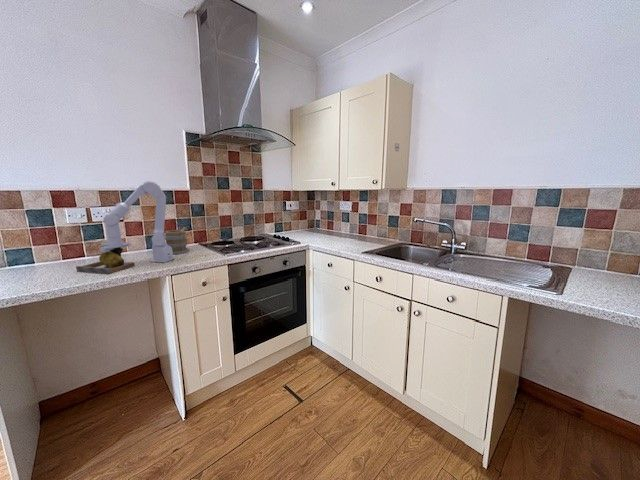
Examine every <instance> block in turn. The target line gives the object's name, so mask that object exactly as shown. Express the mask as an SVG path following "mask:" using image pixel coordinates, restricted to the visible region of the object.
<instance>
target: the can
mask: <svg viewBox="0 0 640 480" xmlns="http://www.w3.org/2000/svg"><path fill="white" fill-rule="evenodd" d="M105 246H108V239H106V240H105V239H104V240H102V241H101V243H100V248H102V247H105ZM105 252H111V251H110V250H108V251H105ZM102 253H104V252H101V254H102Z"/></svg>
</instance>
